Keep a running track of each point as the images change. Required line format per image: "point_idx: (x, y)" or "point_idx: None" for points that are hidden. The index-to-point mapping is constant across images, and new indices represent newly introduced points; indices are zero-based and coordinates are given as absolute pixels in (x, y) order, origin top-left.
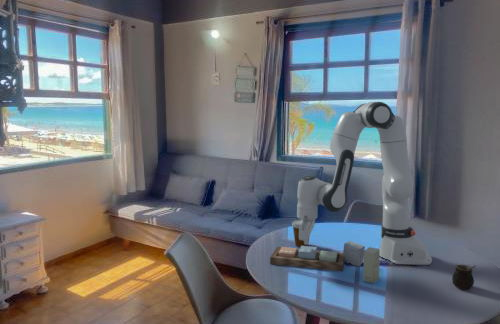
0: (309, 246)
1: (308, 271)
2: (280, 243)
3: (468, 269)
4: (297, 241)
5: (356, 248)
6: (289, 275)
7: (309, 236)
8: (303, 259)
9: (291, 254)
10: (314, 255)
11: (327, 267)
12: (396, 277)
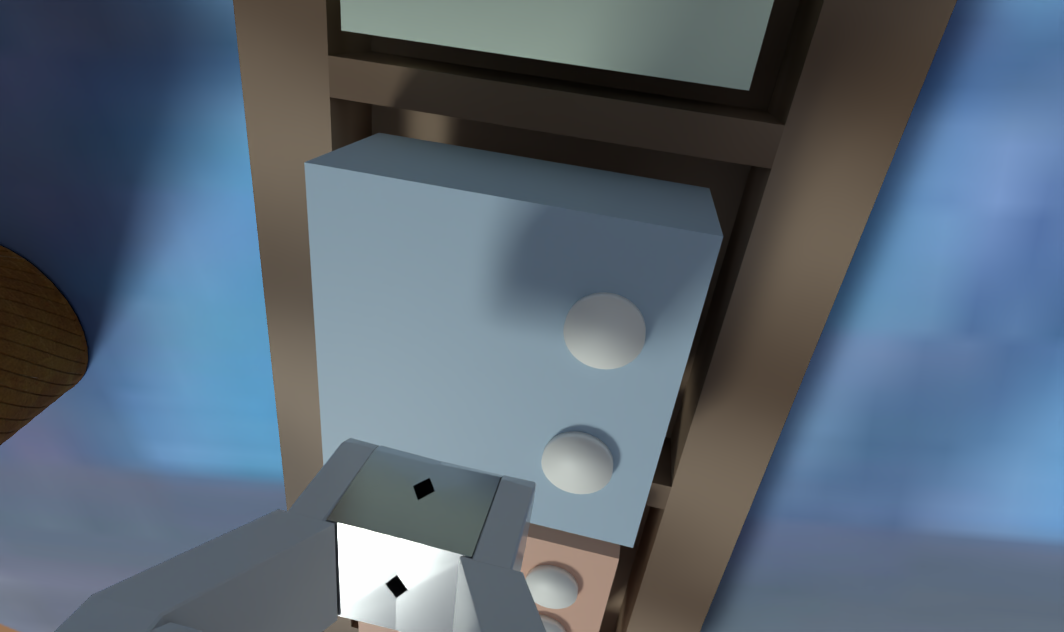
0: (318, 328)
1: (954, 266)
2: (80, 528)
3: None
4: (17, 421)
5: None
6: (1057, 524)
7: (222, 565)
8: (736, 394)
9: (612, 575)
10: (710, 212)
11: None
12: None
